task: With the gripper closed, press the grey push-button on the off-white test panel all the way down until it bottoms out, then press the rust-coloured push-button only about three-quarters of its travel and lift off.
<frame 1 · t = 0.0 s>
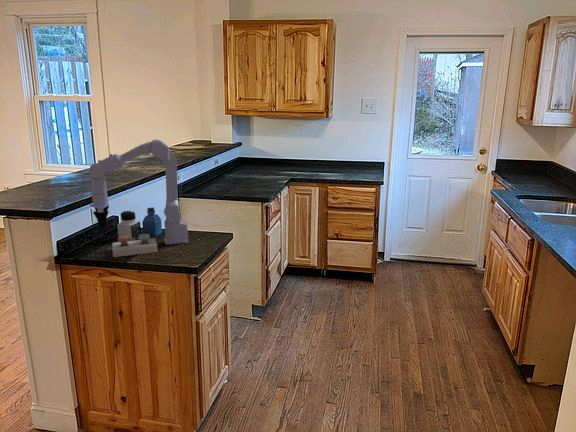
hand: (103, 225, 188), 10 cm above the countertop, fingers open, 7 cm apart
perfume bottle: (152, 233, 212), on the countertop
test panel: (135, 250, 188), on the countertop
rust button: (124, 241, 186), point 4 cm above the countertop, slide at 0.0 cm
grey button: (144, 239, 188), point 4 cm above the countertop, slide at 0.0 cm
medicine bottle: (130, 238, 206), on the countertop
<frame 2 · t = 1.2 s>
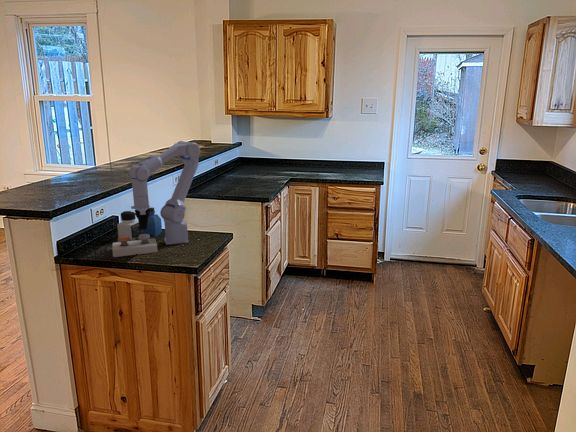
hand: (143, 227, 187), 9 cm above the countertop, fingers open, 4 cm apart
nothing on the countertop moved.
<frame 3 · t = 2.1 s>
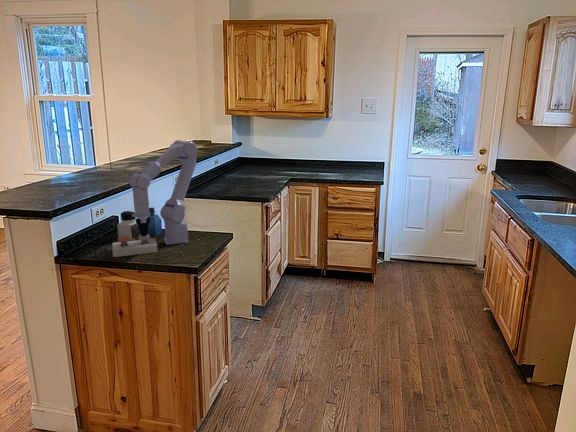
hand: (144, 235, 188), 6 cm above the countertop, fingers closed, pressing on grey button
grey button: (144, 240, 188), point 4 cm above the countertop, slide at 0.1 cm, touching gripper
everything else where it was.
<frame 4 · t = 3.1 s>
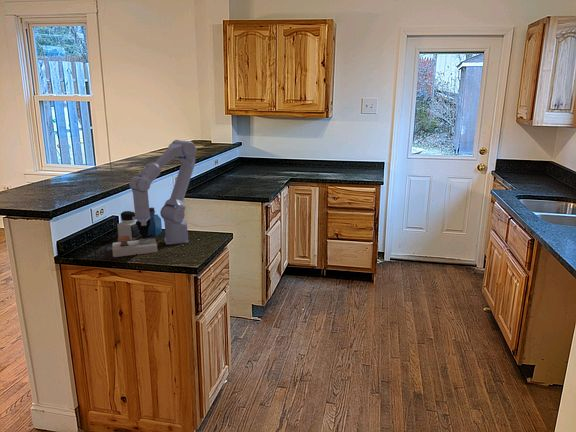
hand: (144, 238, 188), 5 cm above the countertop, fingers closed
grey button: (145, 244, 189), point 2 cm above the countertop, slide at 1.8 cm
everything else where it was.
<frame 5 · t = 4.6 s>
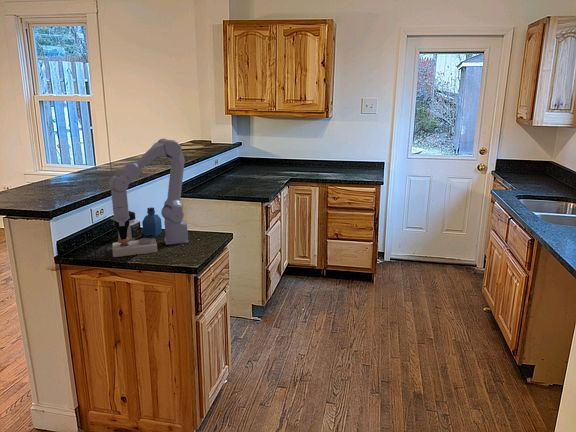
hand: (123, 238, 185), 6 cm above the countertop, fingers closed, pressing on rust button
rust button: (124, 243, 186), point 4 cm above the countertop, slide at 0.6 cm, touching gripper
everything else where it was.
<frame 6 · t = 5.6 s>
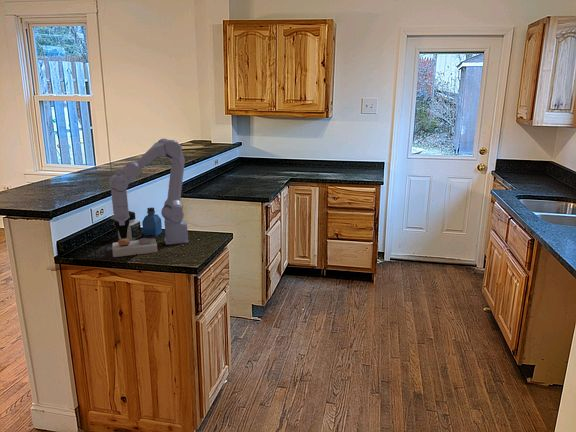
hand: (123, 238, 185), 6 cm above the countertop, fingers closed
rust button: (124, 245, 186), point 3 cm above the countertop, slide at 1.3 cm
everything else where it was.
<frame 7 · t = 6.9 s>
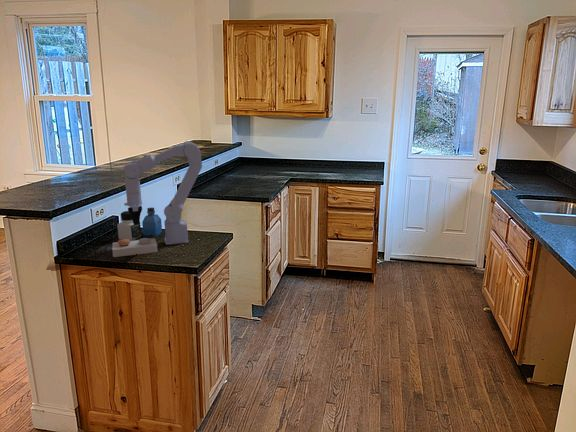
hand: (136, 224, 193), 9 cm above the countertop, fingers closed
nothing on the countertop moved.
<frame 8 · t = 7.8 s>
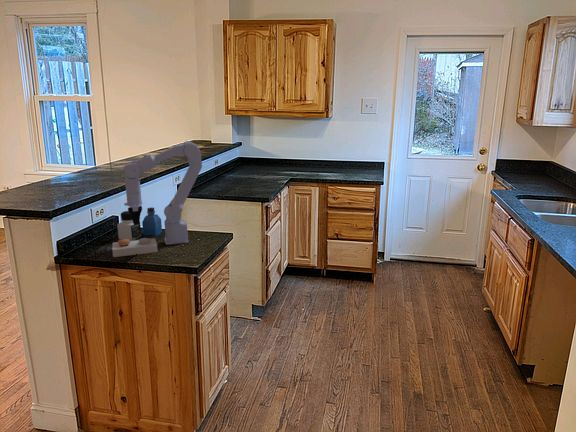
hand: (136, 224, 193), 9 cm above the countertop, fingers closed
nothing on the countertop moved.
at the end: grey button slide at 1.8 cm; rust button slide at 1.3 cm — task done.
